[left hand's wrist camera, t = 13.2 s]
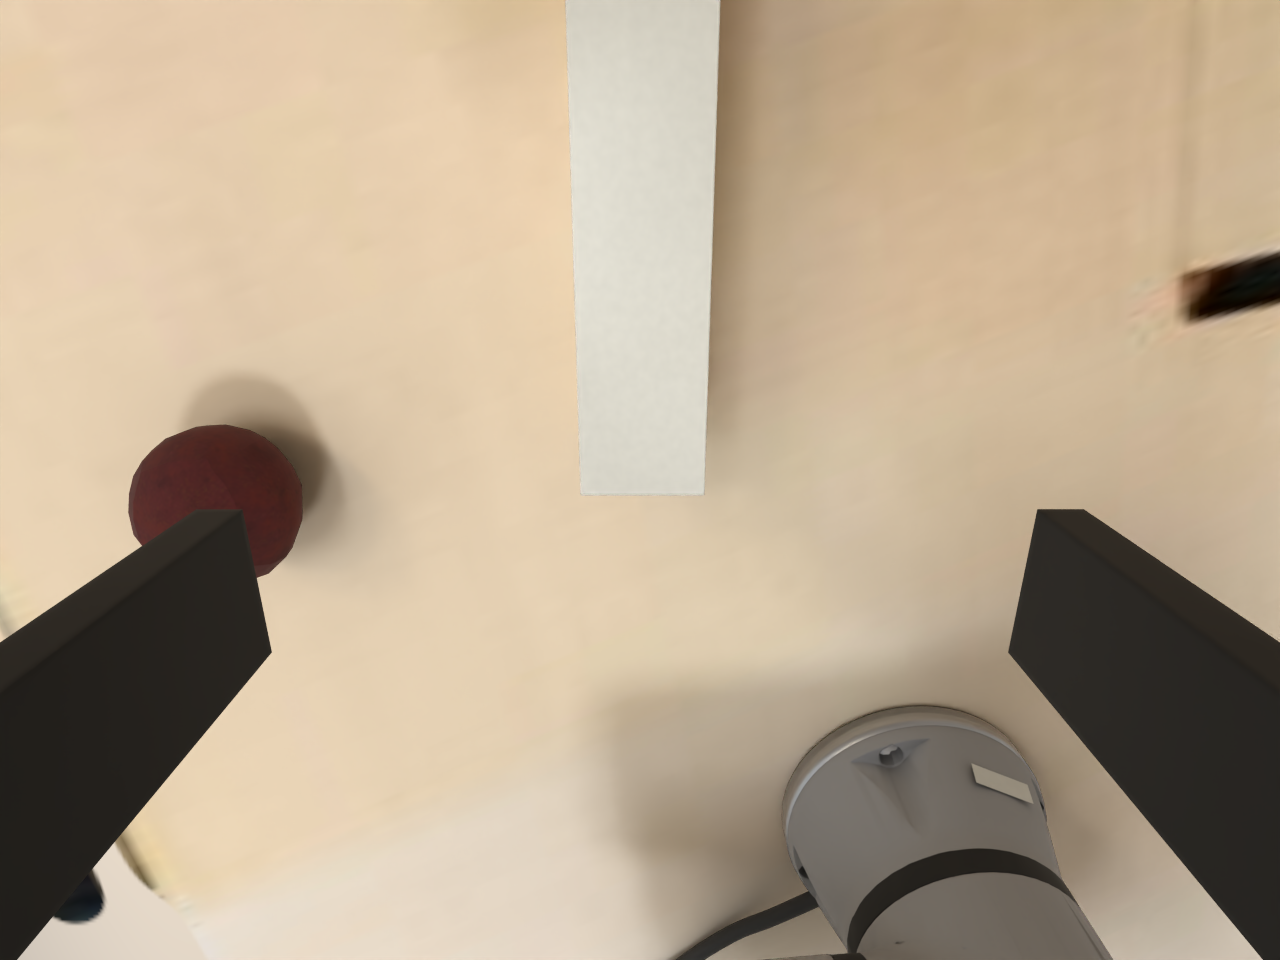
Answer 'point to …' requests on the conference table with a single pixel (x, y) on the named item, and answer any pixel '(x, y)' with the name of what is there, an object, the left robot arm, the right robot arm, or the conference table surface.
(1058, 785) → the conference table surface
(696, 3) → the beam
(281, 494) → the dark red ball
